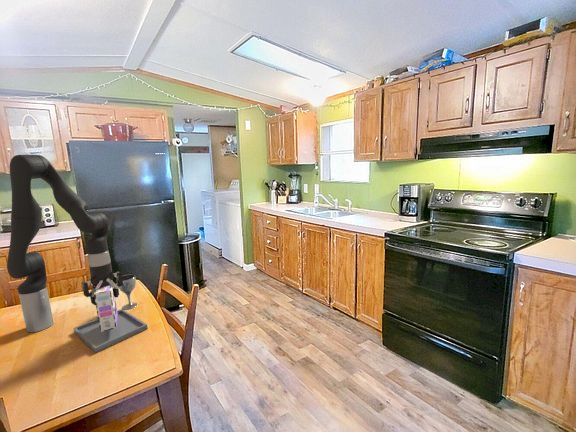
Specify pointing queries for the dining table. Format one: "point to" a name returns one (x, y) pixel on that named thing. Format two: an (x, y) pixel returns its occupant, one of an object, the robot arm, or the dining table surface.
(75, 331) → the tray
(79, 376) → the dining table surface
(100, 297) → the candy box
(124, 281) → the wine glass
